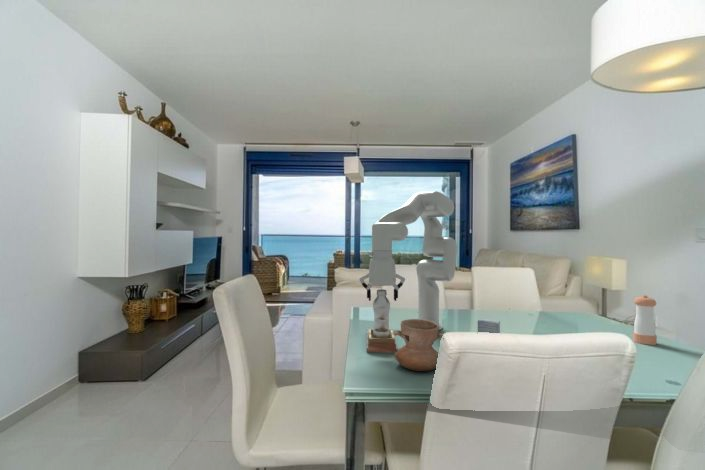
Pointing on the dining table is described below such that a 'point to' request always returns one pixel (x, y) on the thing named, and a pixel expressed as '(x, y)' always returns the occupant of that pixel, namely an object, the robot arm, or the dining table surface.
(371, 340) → the box
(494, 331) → the medicine box
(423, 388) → the dining table surface
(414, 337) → the ceramic jug
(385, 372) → the dining table surface
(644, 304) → the pepper shaker
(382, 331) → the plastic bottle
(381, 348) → the wooden tray
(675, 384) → the dining table surface
